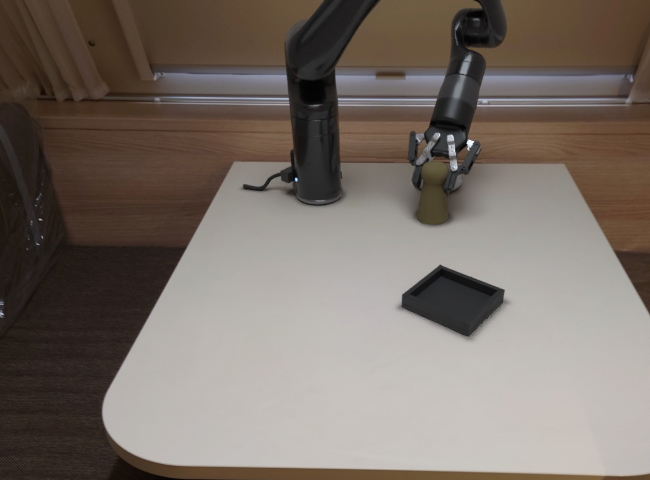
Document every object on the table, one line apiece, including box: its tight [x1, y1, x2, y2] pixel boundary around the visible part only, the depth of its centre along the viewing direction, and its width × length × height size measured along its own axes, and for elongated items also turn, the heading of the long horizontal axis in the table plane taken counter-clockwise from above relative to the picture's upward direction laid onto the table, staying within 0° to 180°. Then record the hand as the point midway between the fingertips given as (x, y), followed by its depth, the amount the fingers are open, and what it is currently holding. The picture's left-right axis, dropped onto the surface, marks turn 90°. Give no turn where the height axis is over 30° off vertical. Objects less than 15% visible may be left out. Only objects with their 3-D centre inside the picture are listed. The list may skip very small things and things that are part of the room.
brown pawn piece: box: [416, 160, 449, 226], centre depth 108 cm, size 6×6×11 cm
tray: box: [401, 264, 506, 337], centre depth 87 cm, size 12×11×2 cm
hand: (431, 189), depth 106 cm, fingers closed on brown pawn piece, 5 cm apart
